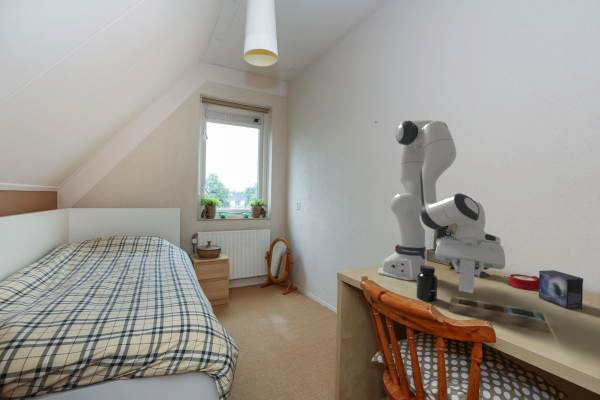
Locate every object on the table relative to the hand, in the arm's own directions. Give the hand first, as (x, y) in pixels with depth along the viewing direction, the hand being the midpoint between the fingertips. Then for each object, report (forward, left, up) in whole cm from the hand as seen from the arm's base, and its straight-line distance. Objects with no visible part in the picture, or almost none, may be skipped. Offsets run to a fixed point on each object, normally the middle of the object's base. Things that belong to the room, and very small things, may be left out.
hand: (467, 274), depth 91 cm
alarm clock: (+21, +45, -13) cm, 51 cm away
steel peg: (0, +1, -5) cm, 5 cm away
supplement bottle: (-12, +4, -13) cm, 18 cm away
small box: (+28, +28, -13) cm, 41 cm away
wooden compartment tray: (+8, 0, -12) cm, 14 cm away
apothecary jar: (+3, +54, -13) cm, 56 cm away
